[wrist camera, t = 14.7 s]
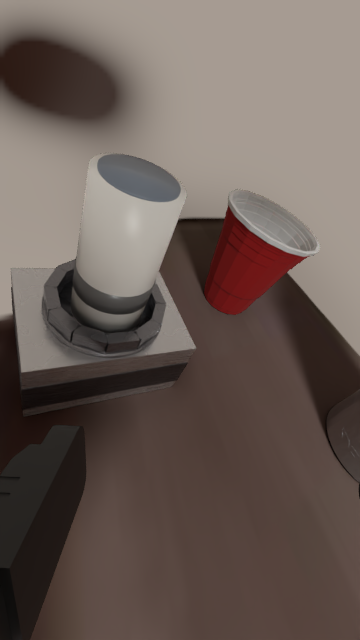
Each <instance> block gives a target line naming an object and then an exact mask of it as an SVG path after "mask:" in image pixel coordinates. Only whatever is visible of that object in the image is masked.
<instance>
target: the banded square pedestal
mask: <svg viewBox="0 0 360 640" xmlns="http://www.w3.org/2000/svg"><path fill="white" fill-rule="evenodd" d="M75 260H76V259H75ZM75 260H72V261H69V262H67V263H64V264H62V265H59V266H58V267H56V269H45V268H44V269H43V268H42V269H41V268H11V279H12V287H11V290H12V291H11V292H12V307H13V320H14V330H15V340H16V351H17V361H18V372H19V382H20V393H21V403H22V410H23V417H24V416H29V415H34V414H39V413H44V412H49V411H54V410H59V409H64V408H69V407H74V406H79V405H84V404H89V403H94V402H99V401H104V400H109V399H114V398H119V397H124V396H128V395H133V394H138V393H143V392H148V391H153V390H158V389H163V388H168V387H172V385H173V384H174V382H175V381H177V379H178V378H179V376H180V374H181V373H182V371H183V370H184V368H185V367H186V365H187V364H188V360H189V359H190V357H191V356H192V354H193V353H194V351H195V349H196V347H195V345H194V343H193V341H192V339H191V337H190V335H189V332H188V330H187V328H186V326H185V324H184V322H183V320H182V318H181V316H180V314H179V312H178V310H177V308H176V306H175V303H174V301H173V299H172V297H171V295H170V293H169V291H168V289H167V287H166V285H165V283H164V281H163V279H162V277H161V274H160V272H159V271H158V274H157V277H156V281H155V284H154V287H153V289H152V292H151V295H150V297H149V300H148V302H147V304H146V306H145V308H144V311H143V314H142V316H141V319H140V321H139V323H138V325H137V326H136V327H135V328H133V329H132V330H130V331H129V332H119V333H105V332H101V331H98V330H95V329H92V328H89V327H86V326H83V325H81V324H80V323H79V322H78V321H77V320H76V318H75V317H74V315H73V314H72V311H71V306H70V305H71V296H72V288H73V274H74V266H75Z"/></svg>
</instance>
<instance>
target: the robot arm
mask: <svg viewBox="0 0 360 640" xmlns="http://www.w3.org/2000/svg"><path fill="white" fill-rule="evenodd" d="M326 422H327V432H328V437H329V440H330V443H331V445H332V448H333V450H334V452H335V453H336V455H337V457H338V459H339V460H340V462H341V463H342V464H343V466H344V467H345V469H346V470H347V471H348V472H349V473H350V474H351V475H352V476H353V477H354V479H356V480H357V481H358V482H359V483H360V389H359V390H358V391H356V392H355V393H353V394H352V395H350V396H349V397H347V398H346V399H344V400H343V401H341V402H340V403H338V404H336V405H335V406H334V407H333V408H331V410H330V411H329V413H328V416H327V421H326ZM85 481H86V455H85V437H84V429H83V427H82V426H67V425H54V426H53V427H52V428H51V429H50V431H49V432H48V434H47V436H46V437H45V439H44V440H43V442H42V444H30V445H28V446H27V447H26V448H25V449H23V450H22V451H21V452H19V453H18V454H17V455H16V456H14V457H13V458H12V459H11V460H10V462H9V463H8V465H7V466H6V468H5V469H4V470H3V472H2V473H1V475H0V640H30V638H31V635H32V632H33V630H34V627H35V624H36V621H37V619H38V616H39V613H40V610H41V608H42V605H43V602H44V599H45V597H46V594H47V591H48V588H49V586H50V583H51V580H52V577H53V574H54V572H55V569H56V566H57V563H58V561H59V558H60V555H61V552H62V550H63V547H64V544H65V541H66V539H67V536H68V533H69V530H70V528H71V525H72V522H73V519H74V516H75V514H76V511H77V508H78V505H79V503H80V500H81V497H82V494H83V491H84V486H85ZM359 497H360V484H359Z"/></svg>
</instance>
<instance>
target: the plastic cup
mask: <svg viewBox="0 0 360 640" xmlns="http://www.w3.org/2000/svg"><path fill="white" fill-rule="evenodd" d="M319 249H320V245H319V243H318V240H317V238H316V236H315V235H314V234H313V233H312V232H311V231H310V229H309V228H308V227H307V226H306V225H304V223H302V222H301V221H300V220H299V219H298V218H297V217H296V216H294V215H293V214H292V213H290V212H289V211H287V210H286V209H284V208H283V207H281V206H280V205H278V204H276V203H274V202H273V201H271V200H269V199H267V198H265V197H263V196H261V195H258V194H255V193H252V192H250V191H245V190H238V189H237V190H234V191H231V192H229V196H228V209H227V212H226V217H225V219H224V222H223V228H222V231H221V234H220V237H219V240H218V243H217V246H216V249H215V252H214V255H213V259H212V262H211V265H210V271H209V274H208V277H207V280H206V283H205V290H204V294H205V297H206V299H207V301H208V302H209V303H210V304H211V305H212V306H213V307H214V308H216V309H217V310H219V311H221V312H223V313H226V314H233V315H236V314H238V313H241V312H242V311H244V310H246V309H247V308H248V307H249V306H250V305H251V304H252V303H253V302H254V301H255V300H256V299H257V298H259V297H260V296H261V295H263V294H264V293H265V292H266V291H267V290H268V289H269V288H270V287H271V286H272V285H273V284H275V283H276V282H277V281H278V280H279V279H280V278H281V277H282V276H283V275H284V274H285V273H287V272H288V271H289V270H290V269H292V268H293V267H294V266H296V265H297V264H298V263H300V262H301V261H302V260H304V259H305V258H307V257H309V256H314V255H315V254H317V253H318V251H319Z"/></svg>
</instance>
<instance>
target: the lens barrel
mask: <svg viewBox="0 0 360 640" xmlns="http://www.w3.org/2000/svg"><path fill="white" fill-rule="evenodd" d="M186 198H187V192H186V190H185V188H184V186H183V185H182V183H181V182H180V181H179V180H178V179H176V177H174V176H173V175H172V174H171V173H169V172H168V171H166V170H164V169H163V168H161V167H159V166H157V165H155V164H153V163H151V162H149V161H146V160H143V159H140V158H137V157H133V156H129V155H124V154H117V153H104V154H99V155H96V156H94V157H93V158H91V160H90V161H89V166H88V174H87V181H86V189H85V196H84V204H83V212H82V219H81V228H80V235H79V242H78V250H77V257H76V260H75V266H74V274H73V288H72V296H71V305H70V306H71V311H72V314H73V315H74V317H75V318H76V320H77V321H78V322H79V323H80V324H81V325H83V326H86V327H89V328H92V329H95V330H98V331H101V332H105V333H119V332H129V331H130V330H132V329H133V328H135V327H136V326H137V325H138V323H139V321H140V319H141V316H142V314H143V311H144V308H145V306H146V304H147V302H148V300H149V297H150V295H151V292H152V289H153V287H154V284H155V281H156V277H157V274H158V271H159V269H160V266H161V264H162V261H163V258H164V256H165V253H166V250H167V248H168V245H169V242H170V240H171V237H172V235H173V232H174V229H175V227H176V224H177V221H178V219H179V216H180V213H181V211H182V208H183V206H184V203H185V200H186Z"/></svg>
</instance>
